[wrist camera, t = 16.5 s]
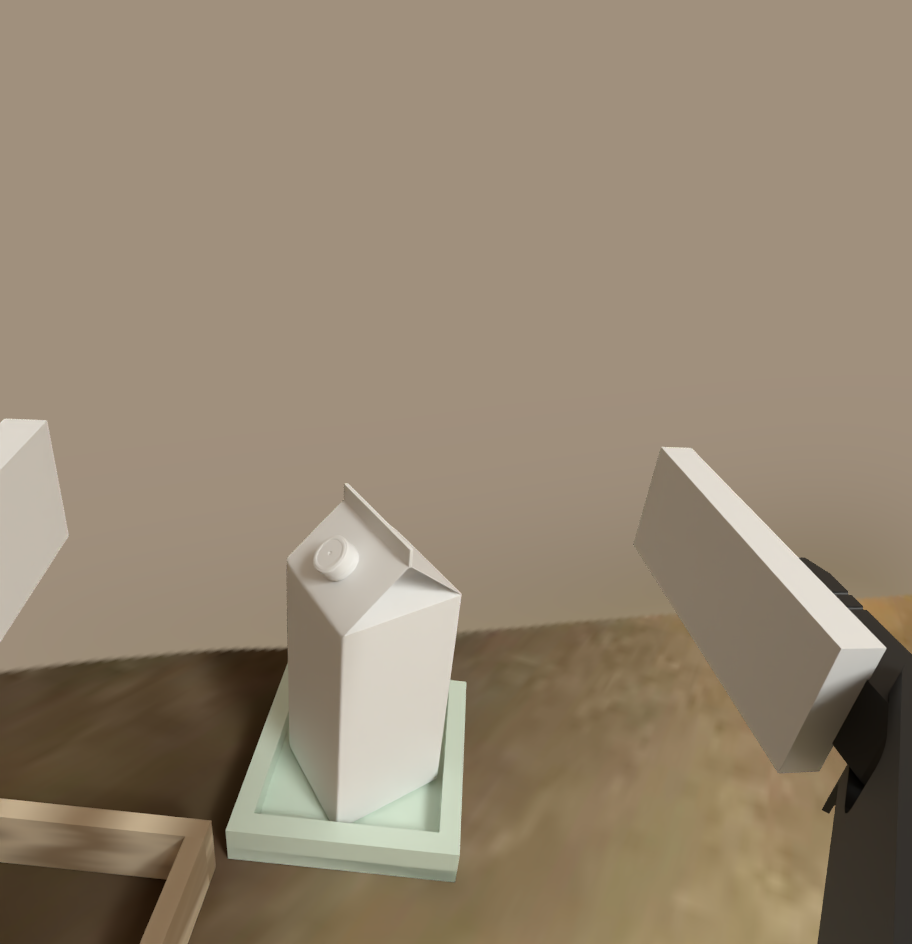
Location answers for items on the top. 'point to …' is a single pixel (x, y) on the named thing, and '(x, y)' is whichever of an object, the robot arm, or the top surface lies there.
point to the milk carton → (366, 660)
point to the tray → (365, 840)
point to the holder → (118, 854)
